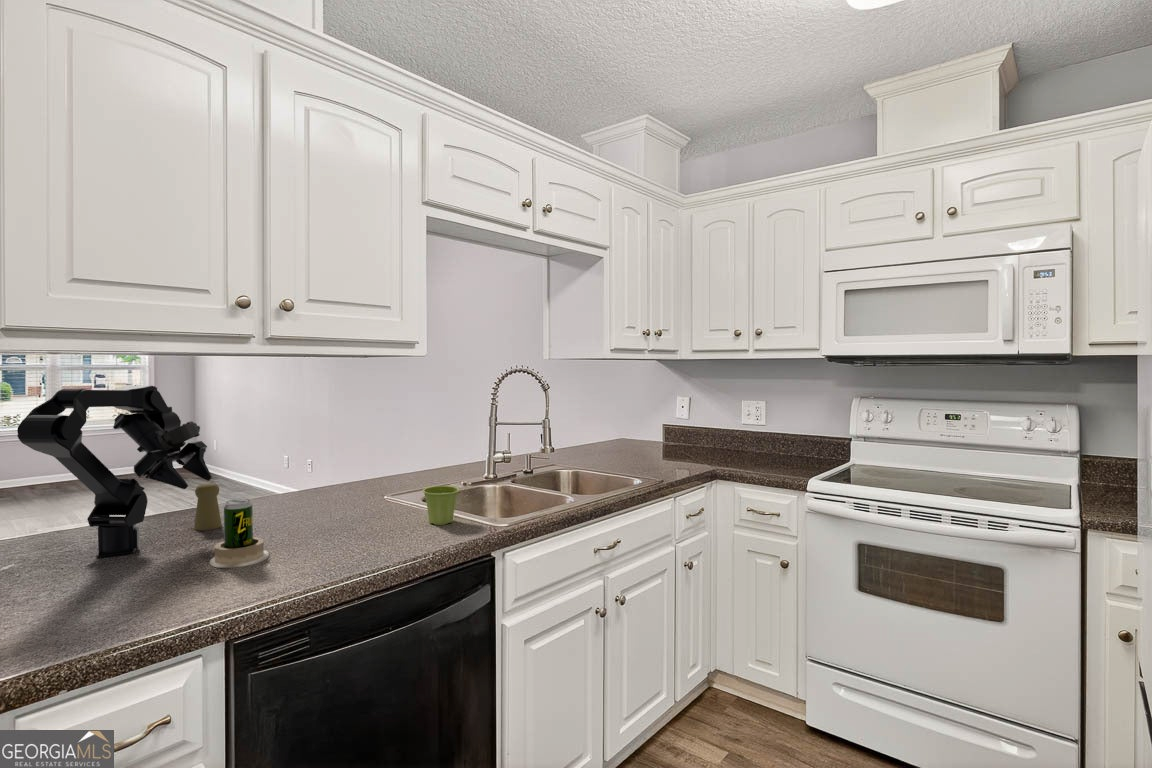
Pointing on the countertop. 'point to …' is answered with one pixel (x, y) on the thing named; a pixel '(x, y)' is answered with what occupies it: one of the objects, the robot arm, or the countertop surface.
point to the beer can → (238, 523)
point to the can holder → (239, 555)
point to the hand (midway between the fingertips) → (198, 483)
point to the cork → (207, 507)
